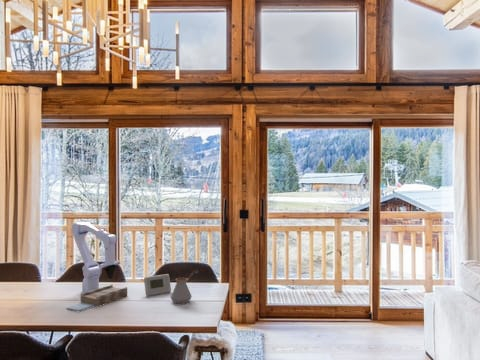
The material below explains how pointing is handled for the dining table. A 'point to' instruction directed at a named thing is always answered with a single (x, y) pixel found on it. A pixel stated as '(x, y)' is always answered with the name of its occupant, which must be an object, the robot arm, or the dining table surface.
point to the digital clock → (157, 284)
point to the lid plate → (80, 306)
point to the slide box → (103, 295)
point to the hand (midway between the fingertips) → (110, 278)
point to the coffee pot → (181, 291)
